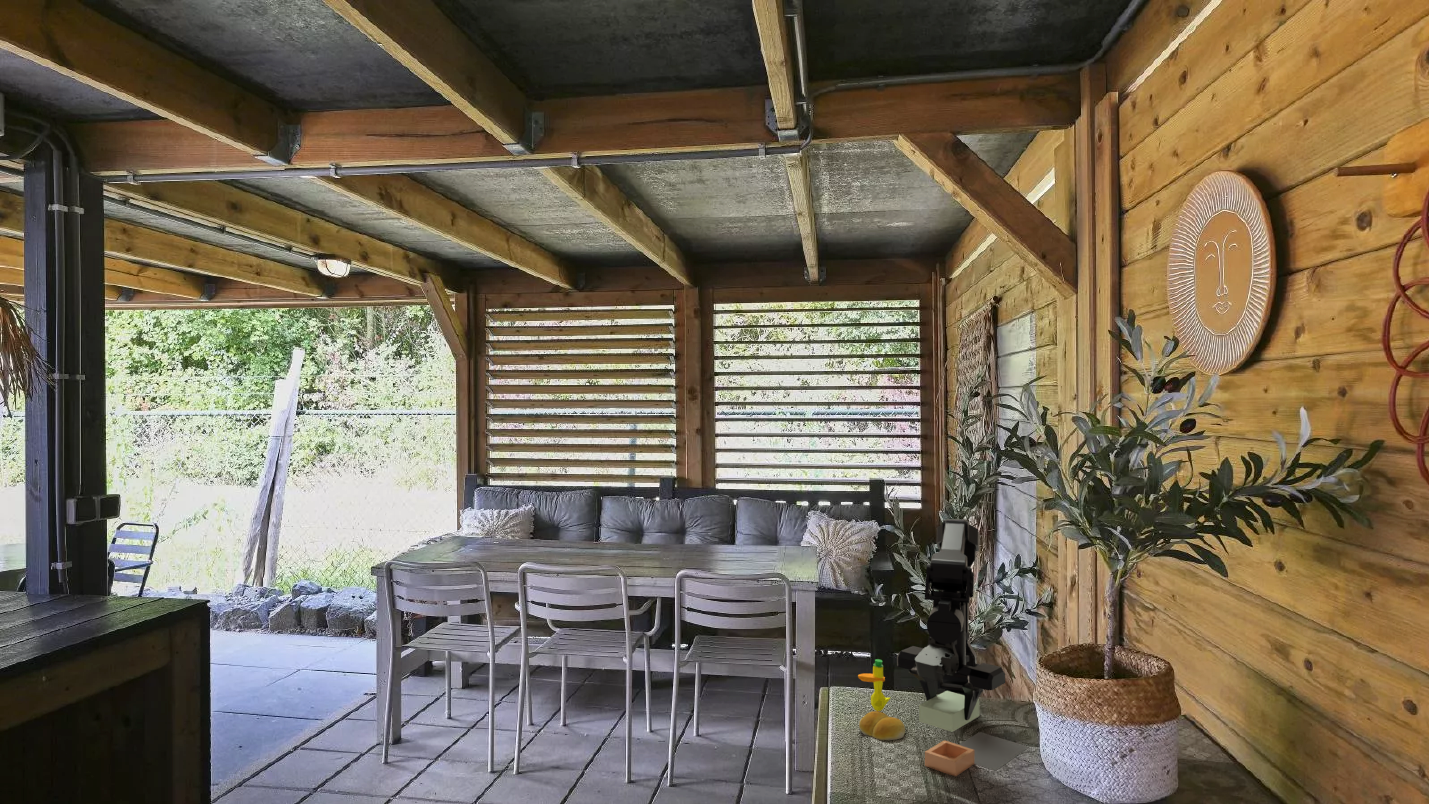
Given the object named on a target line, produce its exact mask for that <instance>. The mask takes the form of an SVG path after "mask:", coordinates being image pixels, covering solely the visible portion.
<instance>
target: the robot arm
mask: <svg viewBox="0 0 1429 804" xmlns="http://www.w3.org/2000/svg"><path fill="white" fill-rule="evenodd" d="M980 540H981V539H980V531H979V529H978V528H977V527H975V526H973V525H972V524H970V522H969V520H966V519H962V518H960V519H959V518H957V519H956V518H955V519H954V518H946V519H942V524H940V525H939V526H937V527H936V547H937V550H939V551H937V552H935V553H933V554H932V556H931V559H930V563H927V564H926V570H925V571H926V573H925V586H924V588H925V589H924V600H926V601H932V609H931V612H930V614H929V615H928V619H927V622H926V630H927V632H928V639H927V640H928V641H927V642H928V643H927V644H926V646H925V647H924V648H923V647H920V646H919V647H918V646H914V645H911V646H910V647H907V648H905V649H902V650H900V651H899V652H898V653H897V656H896V666H897V667H898V668H902V669H906V670H908V673H909V674H910V675H912V676H914V677H915V678H916V679H917V680H918V681H919V683H920V685H921V688H922V690H923V693H924V697H925V699H926V701H928V700H930V699H932V698H934V697H936V696H937V691H938V690H944V692H945V691H950V692H954V693H957V694H961V695H965V701H964V716H965V720H969V719H970V717H971V714H972V712H973V710H974V707H975V705H976V703H977V700H978V699H979V698H980V697H981V695H982V692H984V690H985V691H993V690H995V689H997V688H999V687H1000V686H1002V685H1004V684H1006V673H1005V671H1004V669H1003V667H1002V666H998V665H994V664H990V663H986V662H982V663H977V653H976V651H975V649H974V647H973V646H972V644H971V642H970V641H969V639H970V633H969V630H970V629H969V628H970V627H969V624H970V623H969V614H970V613H969V609H970V608H969V607H970V606H969V604H970V601H971V598H974V594H975V593H974V592H975V591H974V590H975V589H974V587H975V573H974V572H973V569H972V566H973V564H974V562H975V560H976V559H977V552H980V545H981V544H980V542H981V541H980ZM930 589H931V590H930ZM980 717H981V714H980V713H979V717H977V718H975V719H974V720H976V719H978V718H980ZM974 720H972V721H970V722H968V723H967V724H969V723H971V722H973V721H974ZM967 724H966V725H967Z"/></svg>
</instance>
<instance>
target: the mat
mask: <svg viewBox="0 0 1429 804" xmlns="http://www.w3.org/2000/svg"><path fill="white" fill-rule="evenodd" d="M958 745H961V746H964V747H967V748H970V749H973V750H974V765H977V766H980V767H982V768H986V769H988V770H992V771H994V772H996V771H998V770H999V769H1001V768H1002V767H1004V766H1005V765H1006V764H1008V763H1009V762H1011V761H1012V760H1013V759H1015V758H1016V757H1017V756H1019V755H1021V753H1023V752H1024V751H1026V750H1027V749H1029V748H1030V746H1028V745H1023V744H1022V743H1017V742H1016V741H1015V742H1014V741H1011V740H1008V739H1004V738H1001V737H997V736H995V735H990V734H988V733H984V732H981V731H978V732H977V733H975V734H974V735H972V736H971V737H969V738H967V739H966V740H964V741H962V742H961V743H959V744H958Z"/></svg>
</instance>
